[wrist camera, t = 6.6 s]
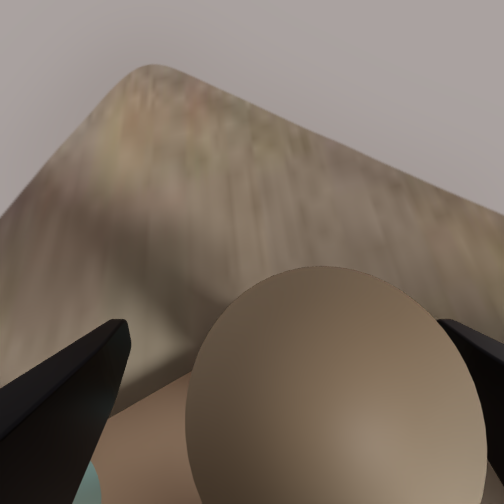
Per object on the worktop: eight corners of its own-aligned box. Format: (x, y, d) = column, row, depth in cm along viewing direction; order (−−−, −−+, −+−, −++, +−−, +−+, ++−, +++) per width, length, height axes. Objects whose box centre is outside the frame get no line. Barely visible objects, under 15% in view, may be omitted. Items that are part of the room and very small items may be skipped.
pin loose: (311, 373, 16) (540, 402, 3) (267, 426, 15) (367, 722, 3) (263, 326, 16) (315, 218, 4) (218, 375, 16) (121, 413, 3)
